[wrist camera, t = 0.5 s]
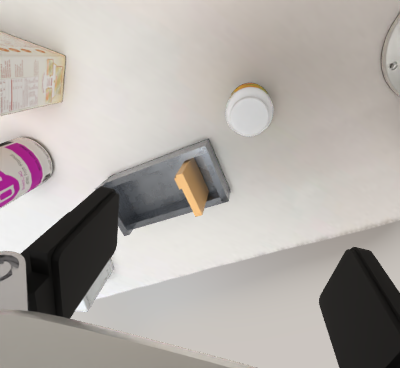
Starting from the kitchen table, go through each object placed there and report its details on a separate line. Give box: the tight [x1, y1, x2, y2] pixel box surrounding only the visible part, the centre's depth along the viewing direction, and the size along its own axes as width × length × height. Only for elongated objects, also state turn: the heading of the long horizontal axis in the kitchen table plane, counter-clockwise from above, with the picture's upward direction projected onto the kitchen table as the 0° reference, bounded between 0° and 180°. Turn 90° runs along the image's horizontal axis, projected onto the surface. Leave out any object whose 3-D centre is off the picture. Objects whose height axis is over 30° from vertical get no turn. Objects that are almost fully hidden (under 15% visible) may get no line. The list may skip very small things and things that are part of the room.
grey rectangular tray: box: [95, 139, 230, 236], centre depth 40 cm, size 18×9×5 cm, turn 113°
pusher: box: [174, 158, 209, 217], centre depth 37 cm, size 4×6×7 cm, turn 23°
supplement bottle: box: [225, 83, 274, 137], centre depth 31 cm, size 5×5×10 cm
